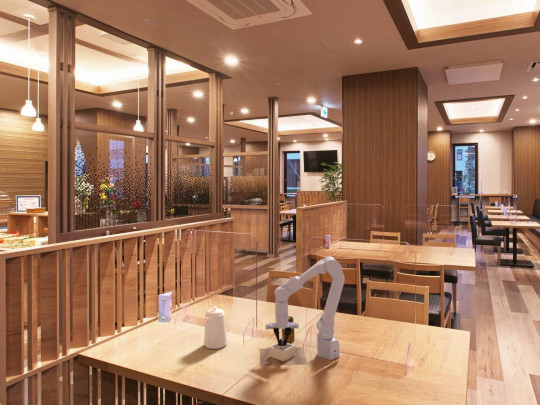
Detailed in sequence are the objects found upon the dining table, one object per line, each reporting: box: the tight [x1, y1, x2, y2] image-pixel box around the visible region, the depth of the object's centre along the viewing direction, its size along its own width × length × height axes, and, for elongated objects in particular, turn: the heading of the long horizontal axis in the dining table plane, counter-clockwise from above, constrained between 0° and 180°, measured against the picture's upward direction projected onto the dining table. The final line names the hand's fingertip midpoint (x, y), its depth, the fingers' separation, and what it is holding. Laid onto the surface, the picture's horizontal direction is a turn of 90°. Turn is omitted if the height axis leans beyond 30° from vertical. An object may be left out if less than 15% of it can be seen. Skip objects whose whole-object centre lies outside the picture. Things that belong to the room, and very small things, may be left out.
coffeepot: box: [203, 305, 228, 350], centre depth 197 cm, size 11×25×19 cm, turn 168°
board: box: [259, 346, 308, 367], centre depth 183 cm, size 20×18×1 cm
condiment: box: [281, 315, 296, 344], centre depth 201 cm, size 7×8×12 cm
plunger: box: [277, 338, 287, 350], centre depth 182 cm, size 6×6×7 cm
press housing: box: [268, 342, 296, 361], centre depth 182 cm, size 8×8×4 cm
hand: (282, 344), depth 182 cm, fingers closed on plunger, 2 cm apart
